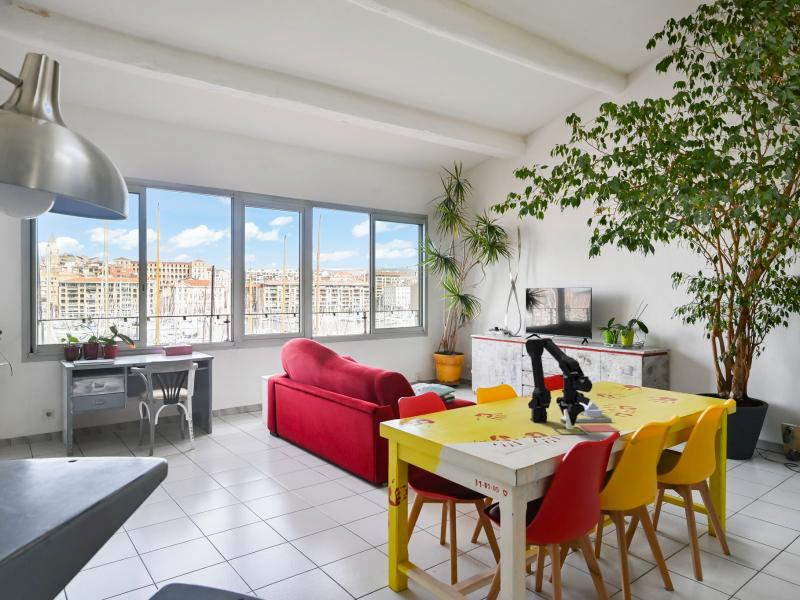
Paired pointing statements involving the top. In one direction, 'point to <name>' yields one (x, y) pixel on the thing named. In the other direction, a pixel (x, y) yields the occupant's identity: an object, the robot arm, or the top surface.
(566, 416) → the pipe fitting
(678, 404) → the top surface
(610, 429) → the pad
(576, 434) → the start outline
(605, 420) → the rail
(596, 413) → the wedge on round base
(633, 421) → the top surface
